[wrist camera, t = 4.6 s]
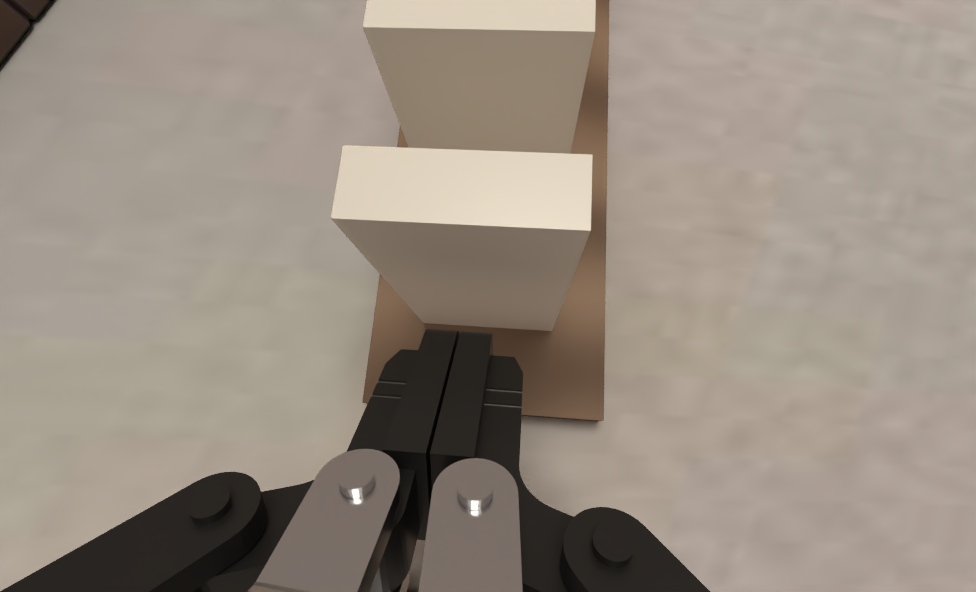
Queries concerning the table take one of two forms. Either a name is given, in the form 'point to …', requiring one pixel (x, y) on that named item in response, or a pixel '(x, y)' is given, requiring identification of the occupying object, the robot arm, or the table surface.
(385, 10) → the domino
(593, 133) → the walnut board
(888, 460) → the table surface
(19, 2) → the miniature tower
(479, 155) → the domino
